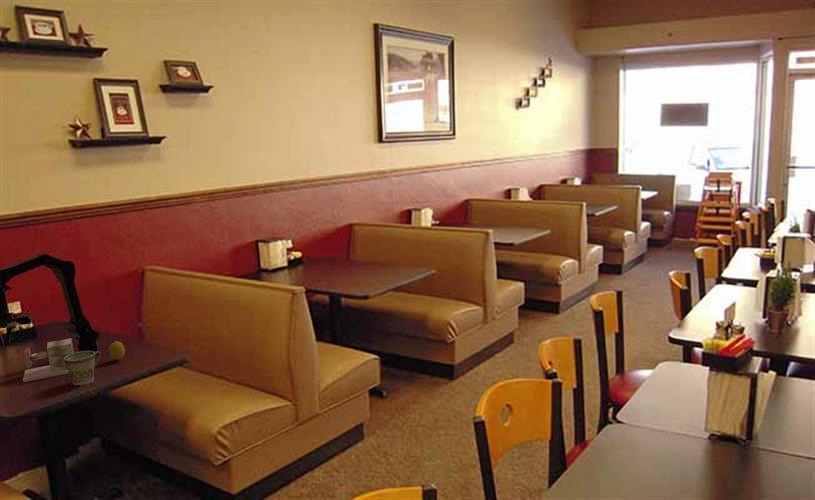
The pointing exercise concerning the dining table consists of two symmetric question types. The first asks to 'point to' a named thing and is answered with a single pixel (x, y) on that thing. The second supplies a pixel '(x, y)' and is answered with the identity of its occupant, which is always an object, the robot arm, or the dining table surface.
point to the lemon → (116, 350)
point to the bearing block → (59, 353)
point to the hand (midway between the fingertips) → (5, 345)
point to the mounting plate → (41, 373)
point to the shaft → (33, 356)
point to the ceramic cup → (81, 366)
